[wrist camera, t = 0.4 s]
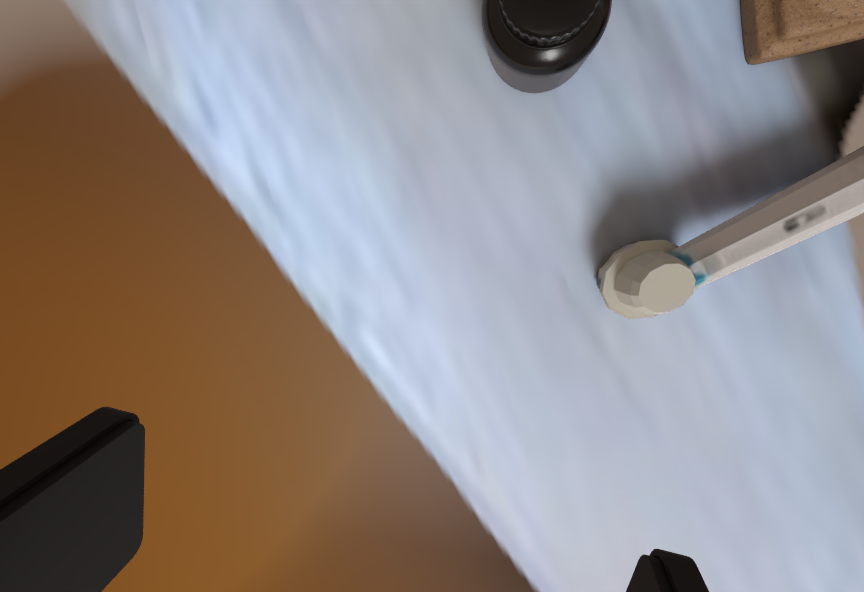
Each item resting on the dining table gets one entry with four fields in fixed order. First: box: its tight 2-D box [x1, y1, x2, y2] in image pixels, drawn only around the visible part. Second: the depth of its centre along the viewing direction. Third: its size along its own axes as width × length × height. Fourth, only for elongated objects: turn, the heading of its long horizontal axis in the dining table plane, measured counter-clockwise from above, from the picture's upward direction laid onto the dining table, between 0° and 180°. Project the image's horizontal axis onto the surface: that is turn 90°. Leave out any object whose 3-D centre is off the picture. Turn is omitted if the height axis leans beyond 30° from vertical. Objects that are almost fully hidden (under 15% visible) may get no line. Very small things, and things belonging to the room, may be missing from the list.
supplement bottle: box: [482, 0, 612, 93], centre depth 28 cm, size 7×7×12 cm
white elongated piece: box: [597, 146, 864, 319], centre depth 33 cm, size 5×7×25 cm
